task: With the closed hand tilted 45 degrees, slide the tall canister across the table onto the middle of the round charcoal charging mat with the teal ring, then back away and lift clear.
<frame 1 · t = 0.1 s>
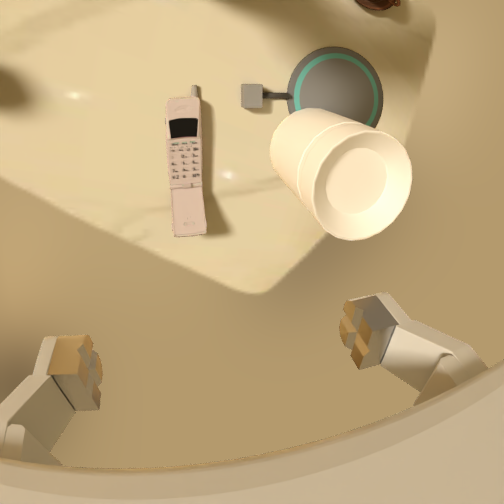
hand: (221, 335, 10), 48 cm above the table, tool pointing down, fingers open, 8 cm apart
mobile phone: (184, 156, 54), on the table
canister: (311, 149, 57), on the table, touching charging mat
charging mat: (338, 98, 53), on the table
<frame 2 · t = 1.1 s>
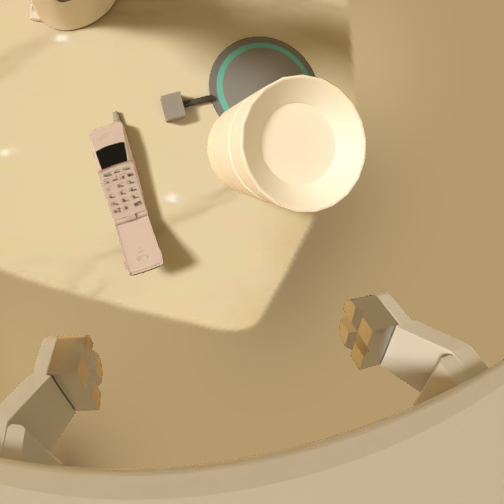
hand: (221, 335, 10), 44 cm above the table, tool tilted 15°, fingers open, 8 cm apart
mobile phone: (123, 189, 48), on the table
canister: (254, 147, 53), on the table, touching charging mat
charging mat: (266, 87, 51), on the table
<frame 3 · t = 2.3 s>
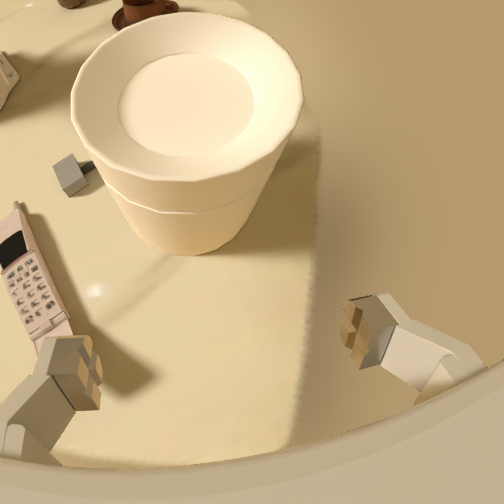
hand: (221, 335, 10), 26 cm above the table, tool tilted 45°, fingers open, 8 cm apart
cup and saucer: (145, 22, 45), on the table
mobile phone: (40, 294, 33), on the table
vase: (74, 4, 44), on the table
canister: (187, 191, 38), on the table, touching charging mat
charging mat: (181, 117, 40), on the table
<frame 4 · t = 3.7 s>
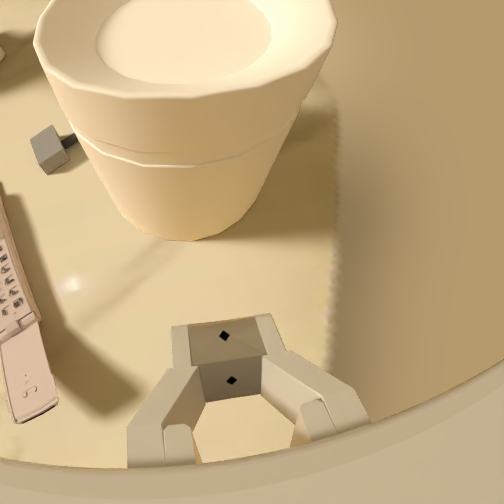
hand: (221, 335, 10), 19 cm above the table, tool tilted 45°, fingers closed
mobile phone: (10, 289, 26), on the table
canister: (184, 165, 31), on the table, touching charging mat
charging mat: (179, 86, 34), on the table
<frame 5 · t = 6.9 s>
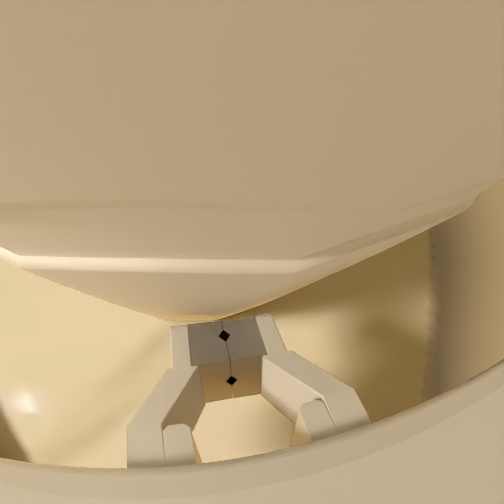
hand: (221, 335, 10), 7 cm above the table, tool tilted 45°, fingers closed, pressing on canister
canister: (193, 181, 18), on the table, touching gripper
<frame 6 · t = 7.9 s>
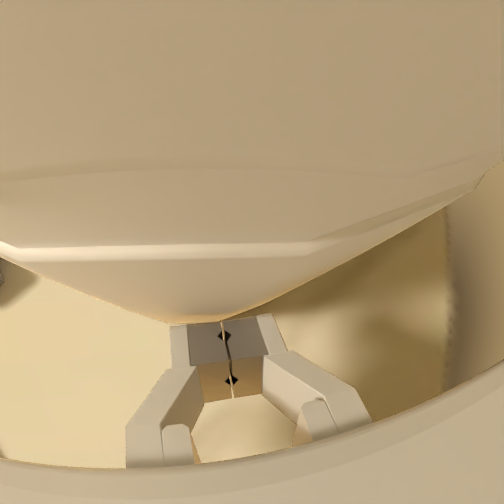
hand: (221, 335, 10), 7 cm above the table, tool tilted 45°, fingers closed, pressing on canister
canister: (190, 183, 18), resting on charging mat, touching gripper
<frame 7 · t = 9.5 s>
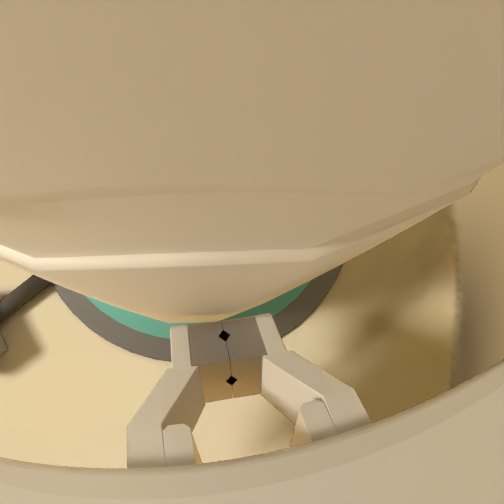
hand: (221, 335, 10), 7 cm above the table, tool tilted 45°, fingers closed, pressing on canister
canister: (189, 184, 18), resting on charging mat, touching gripper
charging mat: (191, 184, 19), on the table
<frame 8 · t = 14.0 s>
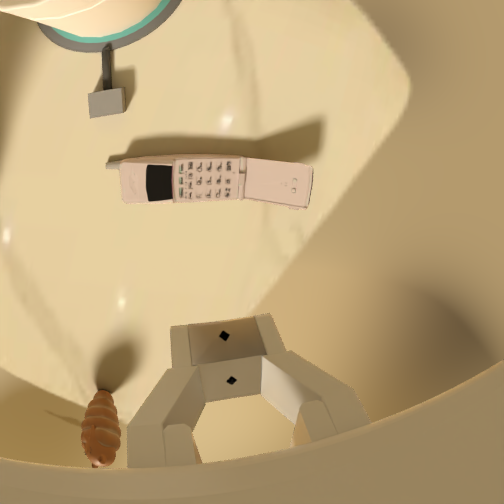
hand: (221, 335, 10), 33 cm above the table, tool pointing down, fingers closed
mobile phone: (204, 173, 41), on the table
brown ribbed oblong piece: (103, 391, 58), on the table
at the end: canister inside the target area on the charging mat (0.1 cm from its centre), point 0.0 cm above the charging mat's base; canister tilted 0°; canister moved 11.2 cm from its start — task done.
